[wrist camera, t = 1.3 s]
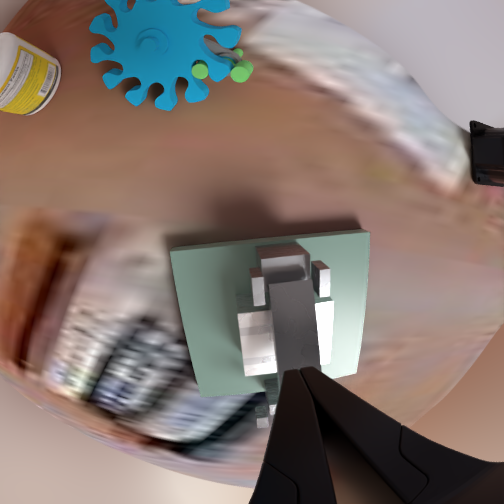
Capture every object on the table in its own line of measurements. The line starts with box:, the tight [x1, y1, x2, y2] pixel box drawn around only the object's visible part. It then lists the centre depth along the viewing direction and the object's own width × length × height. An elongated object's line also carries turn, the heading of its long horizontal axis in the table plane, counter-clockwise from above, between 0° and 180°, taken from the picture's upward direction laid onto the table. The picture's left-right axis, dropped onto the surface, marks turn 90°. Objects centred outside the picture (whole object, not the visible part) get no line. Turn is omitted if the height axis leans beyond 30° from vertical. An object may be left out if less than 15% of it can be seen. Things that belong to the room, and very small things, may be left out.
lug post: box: [255, 378, 279, 428], centre depth 20 cm, size 4×1×6 cm, turn 94°
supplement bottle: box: [0, 32, 61, 115], centre depth 9 cm, size 5×5×10 cm
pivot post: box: [249, 242, 330, 306], centre depth 17 cm, size 4×2×6 cm, turn 94°
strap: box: [267, 279, 322, 391], centre depth 14 cm, size 11×2×2 cm, turn 4°
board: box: [170, 229, 370, 397], centre depth 20 cm, size 14×13×1 cm
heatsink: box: [235, 291, 334, 376], centre depth 18 cm, size 6×5×3 cm
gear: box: [89, 0, 253, 111], centre depth 13 cm, size 11×6×10 cm
